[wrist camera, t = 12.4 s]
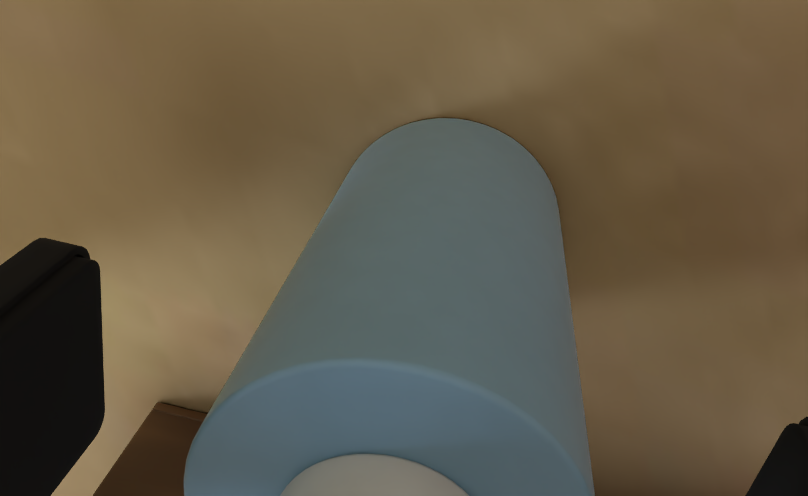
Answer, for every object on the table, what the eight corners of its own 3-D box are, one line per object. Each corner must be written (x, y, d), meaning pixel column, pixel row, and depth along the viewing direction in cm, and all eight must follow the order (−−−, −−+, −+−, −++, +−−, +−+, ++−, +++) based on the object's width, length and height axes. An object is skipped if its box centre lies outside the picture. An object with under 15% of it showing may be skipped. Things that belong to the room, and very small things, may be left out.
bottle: (587, 144, 14) (717, 624, 5) (526, 337, 16) (538, 911, 7) (355, 94, 14) (69, 467, 5) (326, 291, 16) (92, 791, 7)
